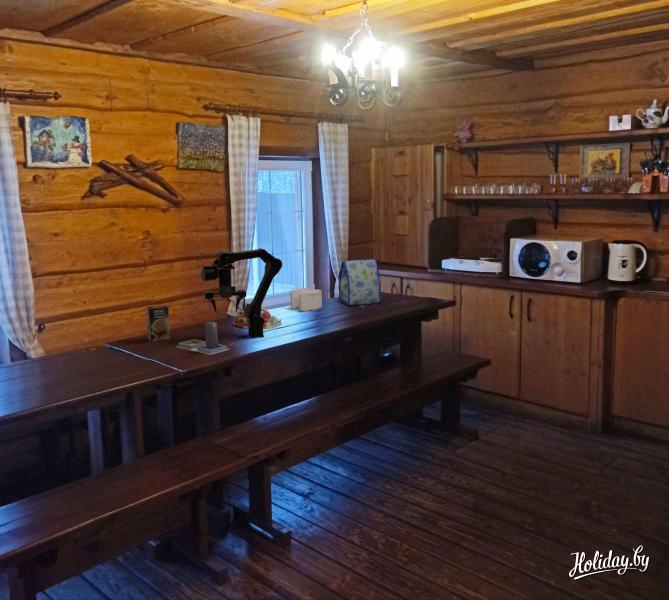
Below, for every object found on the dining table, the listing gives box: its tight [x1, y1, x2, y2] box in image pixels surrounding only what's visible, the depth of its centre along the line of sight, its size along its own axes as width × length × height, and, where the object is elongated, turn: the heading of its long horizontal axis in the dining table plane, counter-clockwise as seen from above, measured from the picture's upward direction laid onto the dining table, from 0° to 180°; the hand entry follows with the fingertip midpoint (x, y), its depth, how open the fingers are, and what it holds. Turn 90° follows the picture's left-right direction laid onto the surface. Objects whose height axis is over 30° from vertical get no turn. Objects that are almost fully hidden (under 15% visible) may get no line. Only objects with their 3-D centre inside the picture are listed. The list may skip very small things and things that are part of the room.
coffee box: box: [145, 304, 171, 342], centre depth 316 cm, size 9×6×16 cm
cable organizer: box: [289, 287, 323, 313], centre depth 384 cm, size 15×11×12 cm
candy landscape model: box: [233, 306, 283, 331], centre depth 349 cm, size 25×24×9 cm
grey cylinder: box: [204, 321, 219, 350], centre depth 293 cm, size 5×5×12 cm
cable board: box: [175, 338, 230, 357], centre depth 298 cm, size 23×11×2 cm, turn 52°
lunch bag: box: [338, 258, 382, 306], centre depth 401 cm, size 22×17×26 cm
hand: (226, 312), depth 314 cm, fingers open, 9 cm apart
